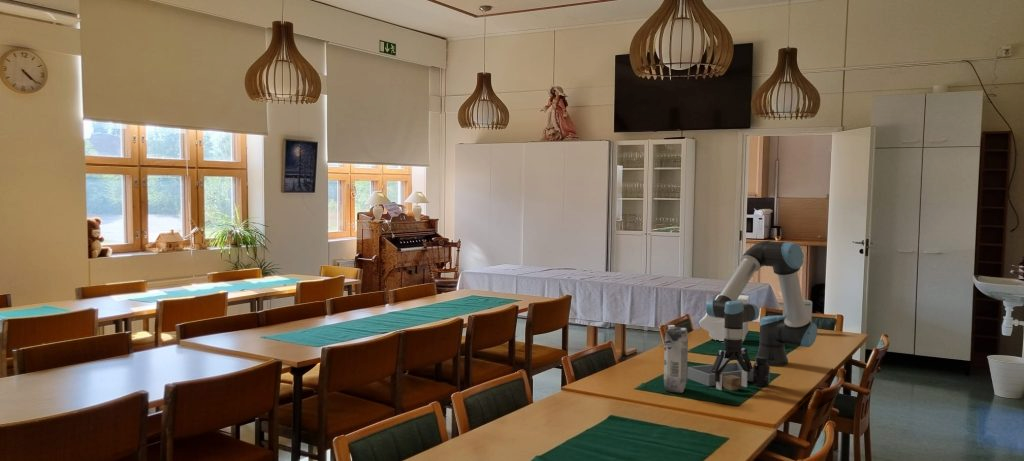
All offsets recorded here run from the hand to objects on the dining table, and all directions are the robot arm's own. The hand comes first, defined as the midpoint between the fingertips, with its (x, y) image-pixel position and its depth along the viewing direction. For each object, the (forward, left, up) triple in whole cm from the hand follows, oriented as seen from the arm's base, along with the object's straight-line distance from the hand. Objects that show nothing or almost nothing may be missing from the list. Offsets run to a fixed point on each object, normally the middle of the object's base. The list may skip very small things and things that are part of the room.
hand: (731, 388), depth 305 cm
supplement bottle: (-16, 0, 0) cm, 16 cm away
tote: (-7, -14, 0) cm, 15 cm away
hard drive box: (-127, -88, 0) cm, 155 cm away
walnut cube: (0, 0, 0) cm, 0 cm away
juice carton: (+24, -7, 0) cm, 25 cm away
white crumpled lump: (-71, -85, 0) cm, 111 cm away
